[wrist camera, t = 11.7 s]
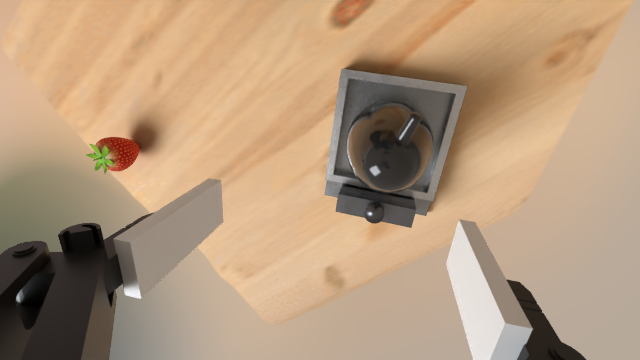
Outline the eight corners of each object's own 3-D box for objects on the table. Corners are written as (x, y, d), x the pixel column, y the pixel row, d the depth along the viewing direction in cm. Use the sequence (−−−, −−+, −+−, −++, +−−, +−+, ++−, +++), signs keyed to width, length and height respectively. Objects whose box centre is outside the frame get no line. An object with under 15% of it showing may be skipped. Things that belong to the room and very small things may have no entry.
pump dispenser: (445, 115, 38) (477, 142, 24) (404, 183, 42) (411, 240, 28) (372, 81, 38) (361, 88, 24) (339, 152, 42) (313, 193, 28)
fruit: (154, 148, 50) (114, 162, 43) (140, 168, 52) (100, 184, 45) (130, 125, 50) (85, 135, 42) (117, 146, 52) (72, 158, 44)
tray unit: (344, 68, 39) (335, 68, 33) (462, 85, 37) (478, 88, 30) (326, 192, 46) (315, 212, 39) (425, 212, 44) (431, 238, 37)
